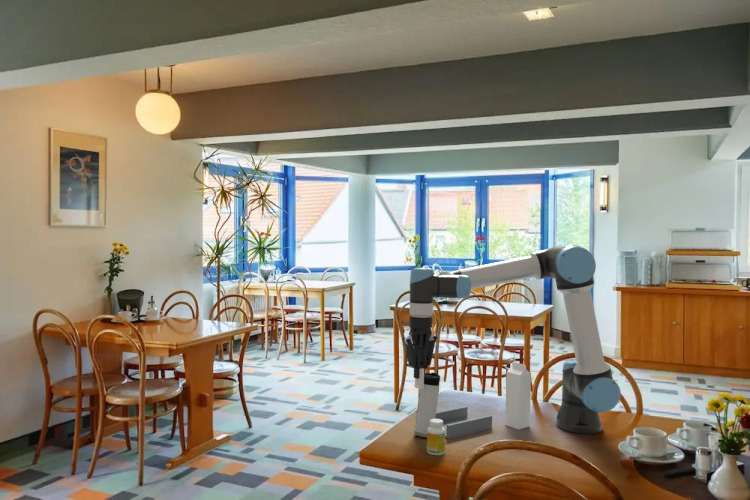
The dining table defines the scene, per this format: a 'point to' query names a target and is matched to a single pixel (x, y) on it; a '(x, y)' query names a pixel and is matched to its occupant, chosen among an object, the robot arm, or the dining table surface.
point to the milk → (518, 396)
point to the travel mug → (427, 404)
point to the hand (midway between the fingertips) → (419, 387)
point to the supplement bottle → (436, 437)
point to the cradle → (462, 422)
